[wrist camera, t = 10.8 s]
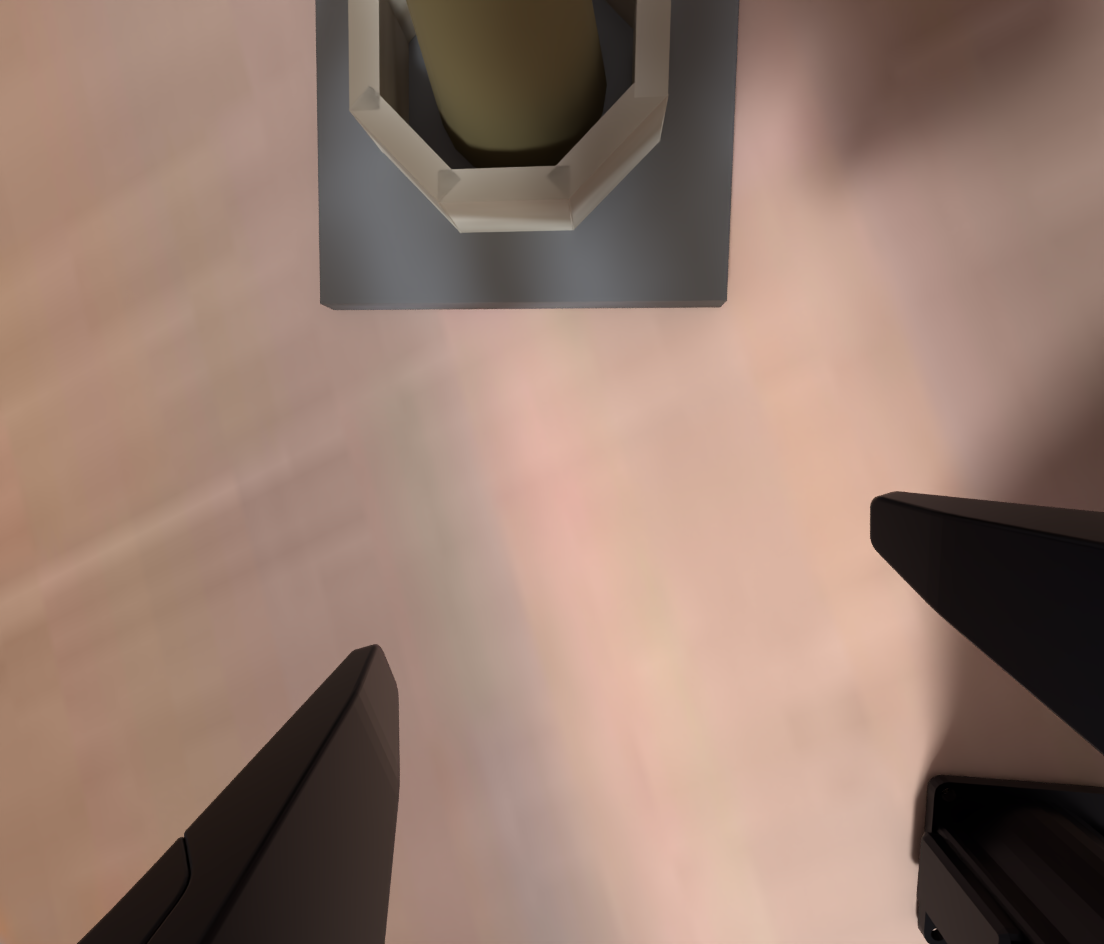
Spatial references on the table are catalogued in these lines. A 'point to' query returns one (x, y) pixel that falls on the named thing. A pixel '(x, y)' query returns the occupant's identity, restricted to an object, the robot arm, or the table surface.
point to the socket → (528, 173)
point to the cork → (512, 76)
